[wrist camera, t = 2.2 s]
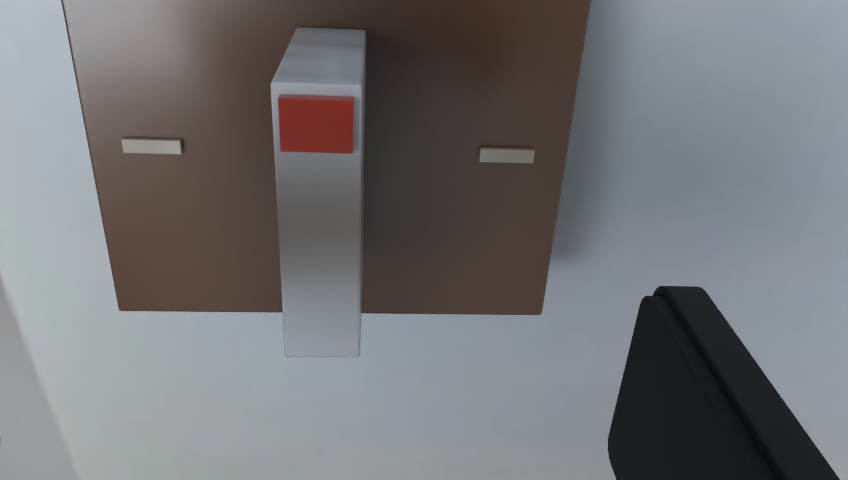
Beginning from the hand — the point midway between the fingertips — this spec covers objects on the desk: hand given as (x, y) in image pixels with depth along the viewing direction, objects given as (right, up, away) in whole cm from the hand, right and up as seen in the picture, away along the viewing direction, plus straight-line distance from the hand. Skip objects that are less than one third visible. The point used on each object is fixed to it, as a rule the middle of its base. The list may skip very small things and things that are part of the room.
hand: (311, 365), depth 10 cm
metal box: (-1, +4, +8) cm, 9 cm away
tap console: (-1, +5, +11) cm, 12 cm away
